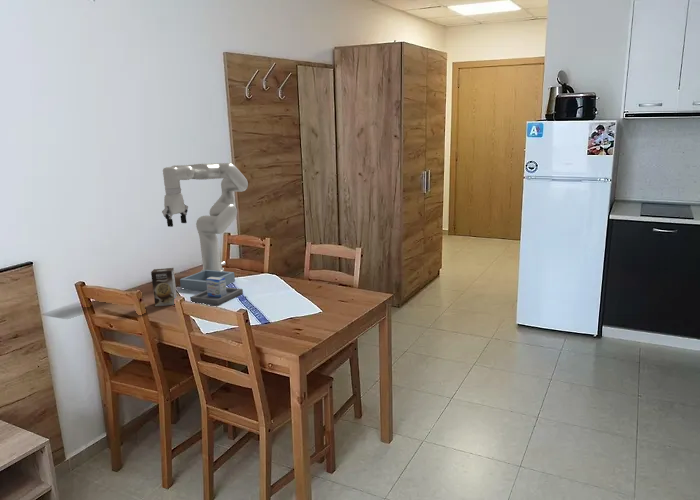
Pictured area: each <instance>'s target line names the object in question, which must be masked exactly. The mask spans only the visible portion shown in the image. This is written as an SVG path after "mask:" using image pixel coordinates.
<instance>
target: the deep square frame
mask: <svg viewBox="0 0 700 500" xmlns="http://www.w3.org/2000/svg"><path fill="white" fill-rule="evenodd" d="M209 277H222V278H225V282H226V286H228V285H230V283H231V284H233V283H235V282H236V278H235V277H236V276H235V272H234V271H225V270H224V271H215V270H203V271H201V270H200V271H199V272H196V273H193V274H191V275H188V276H185V277H182V278H180V279H179V282H180V283H179V284H180V289H181V288H184V289H183V290H186V289H191V290H190V291H195V290H199V291H198V292H203V291H206V290H207V283H206V279H207V278H209Z"/></svg>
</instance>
